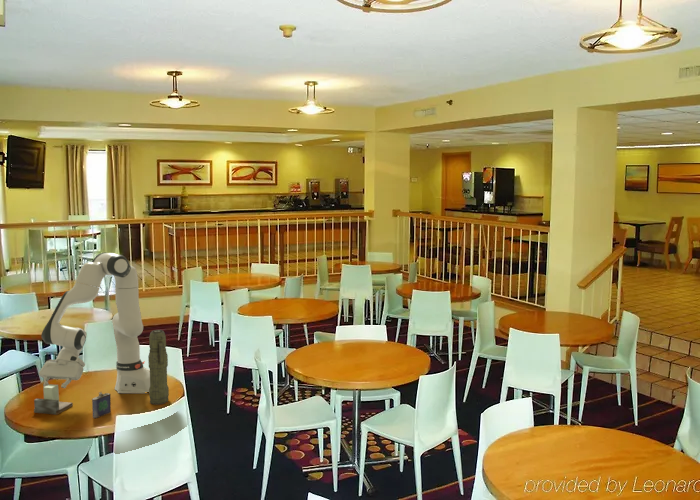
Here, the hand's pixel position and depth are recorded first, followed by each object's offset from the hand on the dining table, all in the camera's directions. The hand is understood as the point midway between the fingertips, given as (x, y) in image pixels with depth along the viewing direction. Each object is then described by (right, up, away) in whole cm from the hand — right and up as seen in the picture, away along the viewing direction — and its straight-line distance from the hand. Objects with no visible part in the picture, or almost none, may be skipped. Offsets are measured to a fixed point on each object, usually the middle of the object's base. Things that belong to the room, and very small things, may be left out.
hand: (54, 387), depth 274 cm
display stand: (-1, -10, +1) cm, 11 cm away
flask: (+25, -12, -6) cm, 28 cm away
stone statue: (+45, -10, +12) cm, 48 cm away
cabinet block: (-1, -9, -1) cm, 9 cm away
